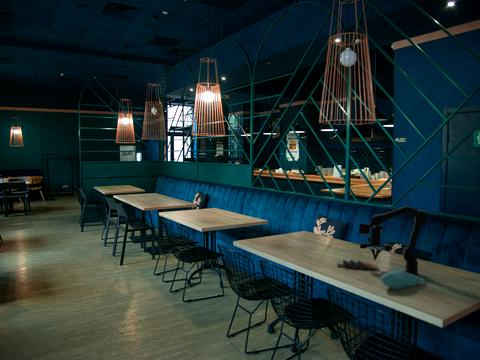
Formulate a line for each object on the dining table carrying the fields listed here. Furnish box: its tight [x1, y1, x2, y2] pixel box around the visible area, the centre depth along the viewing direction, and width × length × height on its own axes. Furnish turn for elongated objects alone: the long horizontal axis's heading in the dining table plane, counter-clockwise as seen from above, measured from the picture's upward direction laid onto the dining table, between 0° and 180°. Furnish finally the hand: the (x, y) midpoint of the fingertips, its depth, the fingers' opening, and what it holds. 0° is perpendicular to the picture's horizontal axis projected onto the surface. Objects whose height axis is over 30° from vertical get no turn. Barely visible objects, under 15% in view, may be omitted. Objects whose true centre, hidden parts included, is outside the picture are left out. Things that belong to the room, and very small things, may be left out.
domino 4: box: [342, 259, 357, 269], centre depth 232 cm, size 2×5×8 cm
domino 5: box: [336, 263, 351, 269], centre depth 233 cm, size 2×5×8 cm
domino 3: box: [349, 259, 364, 270], centre depth 231 cm, size 2×5×8 cm
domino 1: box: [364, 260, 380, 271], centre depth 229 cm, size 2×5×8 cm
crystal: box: [380, 269, 426, 290], centre depth 199 cm, size 10×34×10 cm, turn 114°
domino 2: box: [356, 259, 372, 271], centre depth 230 cm, size 2×5×8 cm
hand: (374, 259), depth 228 cm, fingers closed
